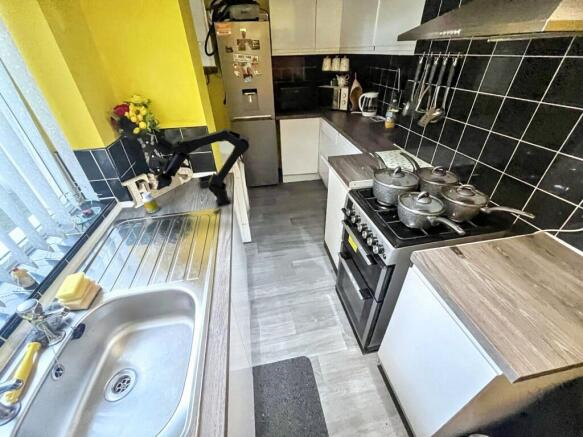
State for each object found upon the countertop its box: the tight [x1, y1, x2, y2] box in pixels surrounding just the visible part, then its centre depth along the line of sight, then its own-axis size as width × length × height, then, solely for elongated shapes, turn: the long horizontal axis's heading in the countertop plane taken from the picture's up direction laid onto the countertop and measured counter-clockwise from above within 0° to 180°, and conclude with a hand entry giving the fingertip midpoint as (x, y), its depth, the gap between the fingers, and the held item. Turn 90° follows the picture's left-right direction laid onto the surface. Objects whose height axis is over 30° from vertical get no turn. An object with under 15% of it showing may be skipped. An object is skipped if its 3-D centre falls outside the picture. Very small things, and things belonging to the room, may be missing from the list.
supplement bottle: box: [141, 191, 160, 214], centre depth 124 cm, size 5×5×10 cm
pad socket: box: [198, 174, 213, 189], centre depth 147 cm, size 8×8×4 cm
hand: (160, 185), depth 120 cm, fingers open, 9 cm apart
